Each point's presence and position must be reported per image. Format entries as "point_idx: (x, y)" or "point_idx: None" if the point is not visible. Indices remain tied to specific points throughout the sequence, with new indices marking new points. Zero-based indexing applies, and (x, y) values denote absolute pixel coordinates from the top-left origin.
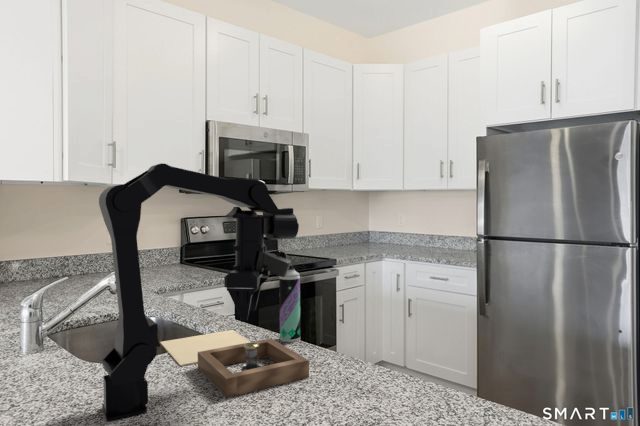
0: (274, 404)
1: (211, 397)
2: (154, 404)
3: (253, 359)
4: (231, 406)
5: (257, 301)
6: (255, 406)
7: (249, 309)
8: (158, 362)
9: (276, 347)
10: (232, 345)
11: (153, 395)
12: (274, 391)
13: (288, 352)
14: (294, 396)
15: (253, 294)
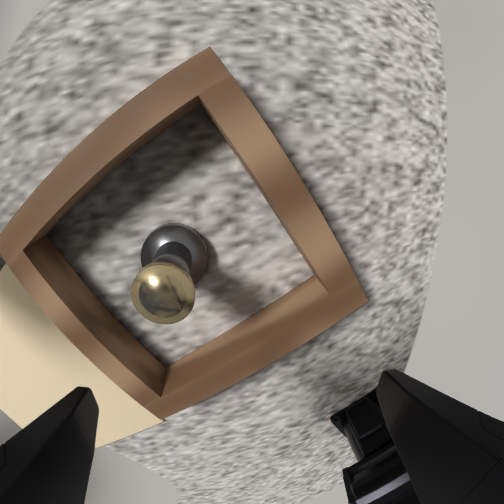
0: (390, 156)
1: None
2: (353, 390)
3: (186, 263)
4: (390, 255)
5: (42, 415)
6: (396, 201)
7: (430, 403)
8: (151, 449)
9: (67, 200)
10: (13, 344)
11: (316, 407)
12: (320, 160)
13: (117, 138)
14: (351, 105)
15: (54, 483)
